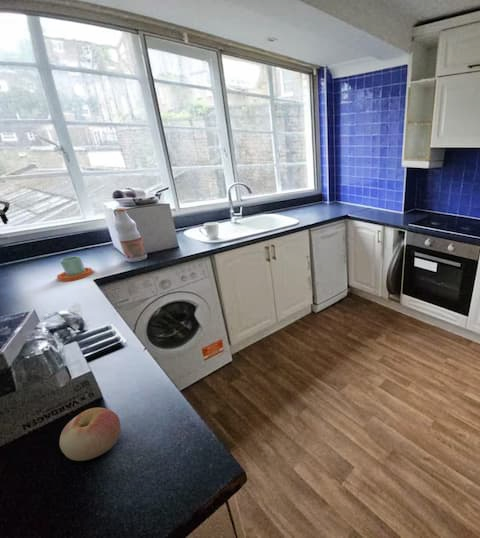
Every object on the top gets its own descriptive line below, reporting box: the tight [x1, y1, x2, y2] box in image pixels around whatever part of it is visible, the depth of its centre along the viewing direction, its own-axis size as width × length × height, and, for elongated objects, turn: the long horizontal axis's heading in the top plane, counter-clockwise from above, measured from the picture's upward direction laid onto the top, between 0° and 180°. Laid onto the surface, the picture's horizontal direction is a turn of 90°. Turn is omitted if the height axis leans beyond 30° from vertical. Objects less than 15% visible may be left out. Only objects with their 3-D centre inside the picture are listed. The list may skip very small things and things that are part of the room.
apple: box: [59, 406, 121, 462], centre depth 58 cm, size 9×9×8 cm
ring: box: [56, 266, 94, 283], centre depth 142 cm, size 12×12×2 cm
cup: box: [59, 255, 86, 277], centre depth 140 cm, size 7×7×9 cm
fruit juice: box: [113, 207, 148, 263], centre depth 156 cm, size 9×9×28 cm
